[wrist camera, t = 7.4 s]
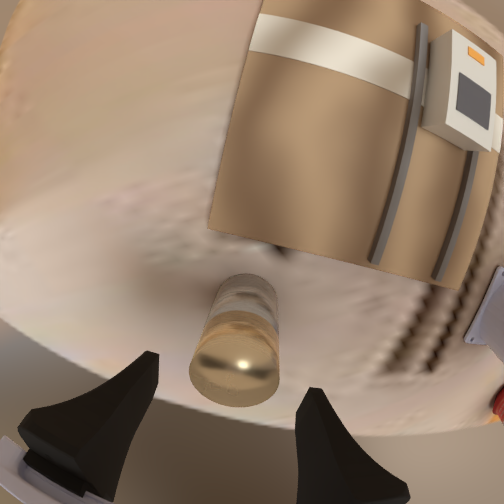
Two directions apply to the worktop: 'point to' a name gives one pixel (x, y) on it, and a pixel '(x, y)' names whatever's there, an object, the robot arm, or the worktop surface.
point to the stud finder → (460, 93)
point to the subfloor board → (352, 141)
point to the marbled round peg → (239, 344)
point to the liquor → (499, 405)
